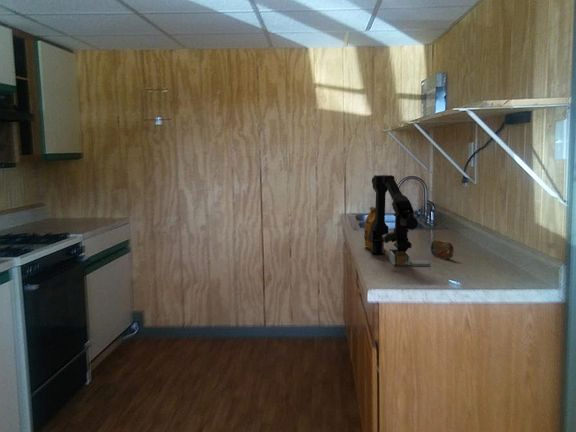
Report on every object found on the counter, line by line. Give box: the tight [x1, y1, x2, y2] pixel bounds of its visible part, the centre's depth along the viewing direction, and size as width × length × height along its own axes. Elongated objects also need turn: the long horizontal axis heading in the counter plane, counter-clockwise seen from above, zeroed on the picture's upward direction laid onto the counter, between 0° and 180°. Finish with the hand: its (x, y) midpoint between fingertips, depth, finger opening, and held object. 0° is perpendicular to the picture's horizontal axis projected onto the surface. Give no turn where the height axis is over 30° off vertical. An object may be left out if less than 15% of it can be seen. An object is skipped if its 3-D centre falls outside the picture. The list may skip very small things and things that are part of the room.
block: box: [395, 251, 407, 267], centre depth 253 cm, size 4×4×5 cm
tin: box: [430, 239, 454, 260], centre depth 270 cm, size 15×3×8 cm, turn 21°
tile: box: [410, 259, 431, 267], centre depth 255 cm, size 8×8×1 cm
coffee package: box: [363, 206, 385, 251], centre depth 294 cm, size 10×12×22 cm
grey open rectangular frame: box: [388, 248, 411, 266], centre depth 260 cm, size 13×8×5 cm, turn 178°
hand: (400, 260), depth 256 cm, fingers closed
